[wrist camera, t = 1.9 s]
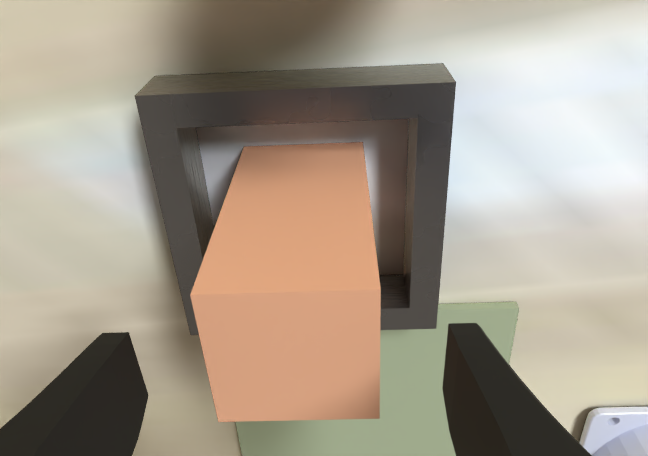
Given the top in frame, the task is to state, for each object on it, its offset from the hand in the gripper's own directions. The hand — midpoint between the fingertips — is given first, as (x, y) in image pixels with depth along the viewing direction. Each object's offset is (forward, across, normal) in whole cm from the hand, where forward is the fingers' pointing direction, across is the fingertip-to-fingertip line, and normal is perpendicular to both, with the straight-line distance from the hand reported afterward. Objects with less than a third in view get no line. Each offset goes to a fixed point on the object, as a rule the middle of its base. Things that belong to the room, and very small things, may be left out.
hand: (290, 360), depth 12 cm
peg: (+8, 0, 0) cm, 8 cm away
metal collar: (+8, 0, 0) cm, 8 cm away
